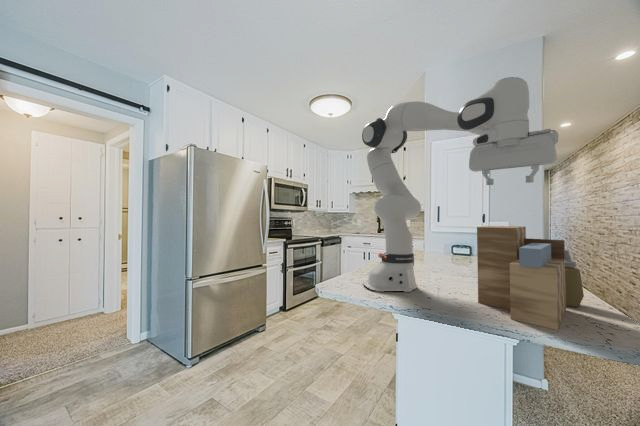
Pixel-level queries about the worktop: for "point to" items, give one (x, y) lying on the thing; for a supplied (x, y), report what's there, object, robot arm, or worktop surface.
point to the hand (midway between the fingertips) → (508, 183)
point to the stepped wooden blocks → (520, 276)
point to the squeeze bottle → (572, 283)
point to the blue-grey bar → (535, 255)
